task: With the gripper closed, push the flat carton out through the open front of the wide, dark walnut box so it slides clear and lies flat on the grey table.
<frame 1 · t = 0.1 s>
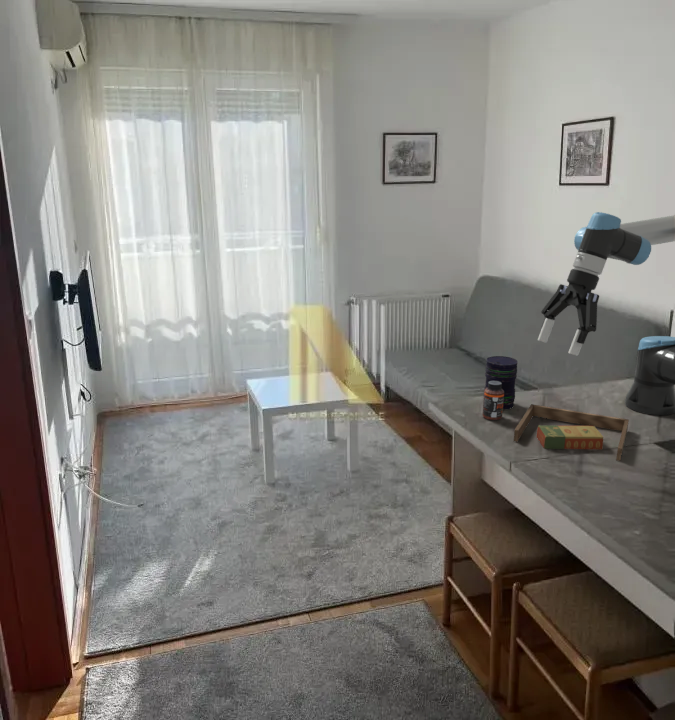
hand: (556, 347, 181), 28 cm above the table, tool tilted 20°, fingers open, 13 cm apart
storage jar: (498, 405, 218), on the table
supplement bottle: (492, 417, 208), on the table
carton: (568, 444, 189), on the table
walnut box: (571, 435, 194), on the table
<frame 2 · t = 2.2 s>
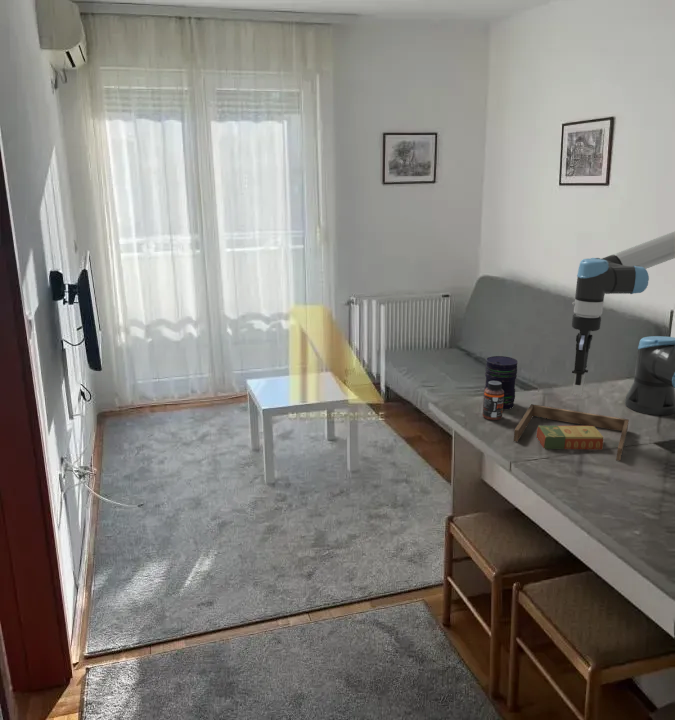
hand: (577, 394, 195), 11 cm above the table, tool pointing down, fingers closed
nothing on the table moved.
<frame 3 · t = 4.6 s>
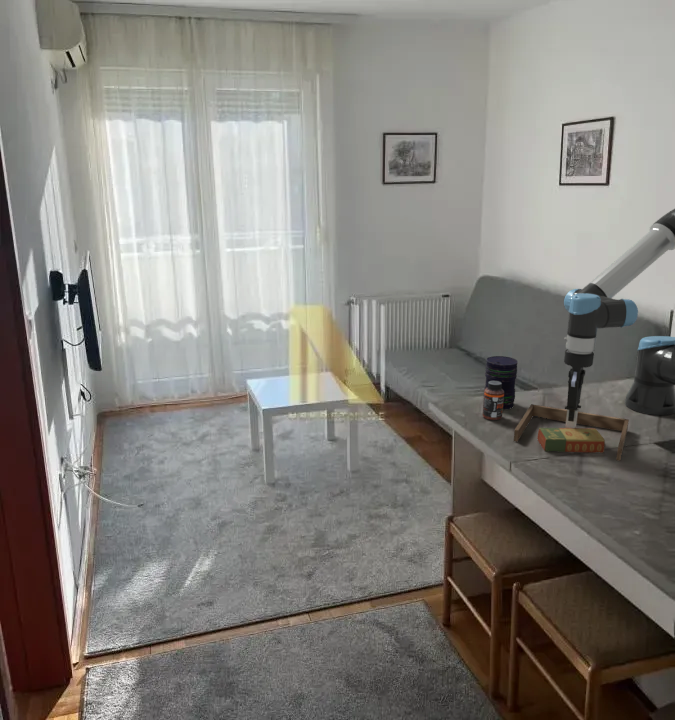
hand: (570, 430, 192), 2 cm above the table, tool pointing down, fingers closed
carton: (569, 447, 187), on the table, touching gripper
everything else where it was.
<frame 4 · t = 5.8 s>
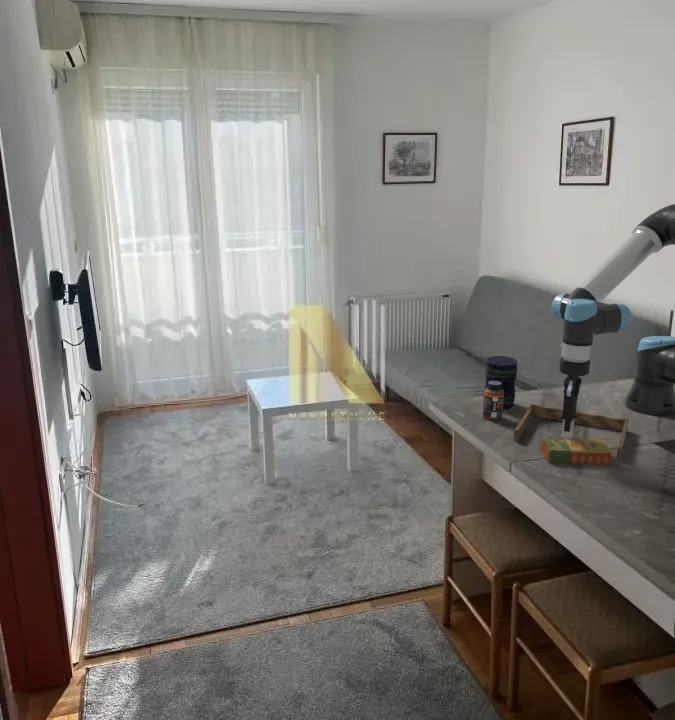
hand: (566, 440, 185), 2 cm above the table, tool pointing down, fingers closed
carton: (574, 459, 180), on the table
everything else where it was.
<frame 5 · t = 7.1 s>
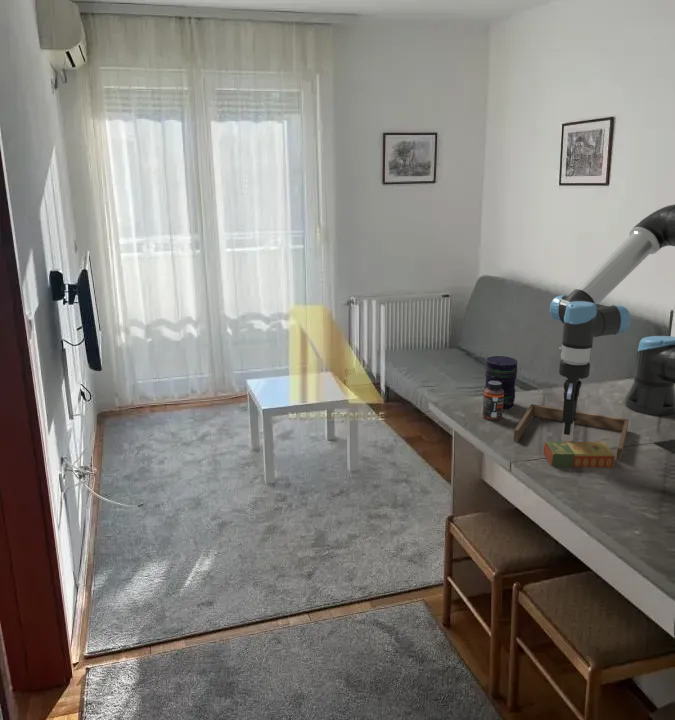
hand: (566, 443, 183), 2 cm above the table, tool pointing down, fingers closed
carton: (577, 462, 179), on the table
everything else where it was.
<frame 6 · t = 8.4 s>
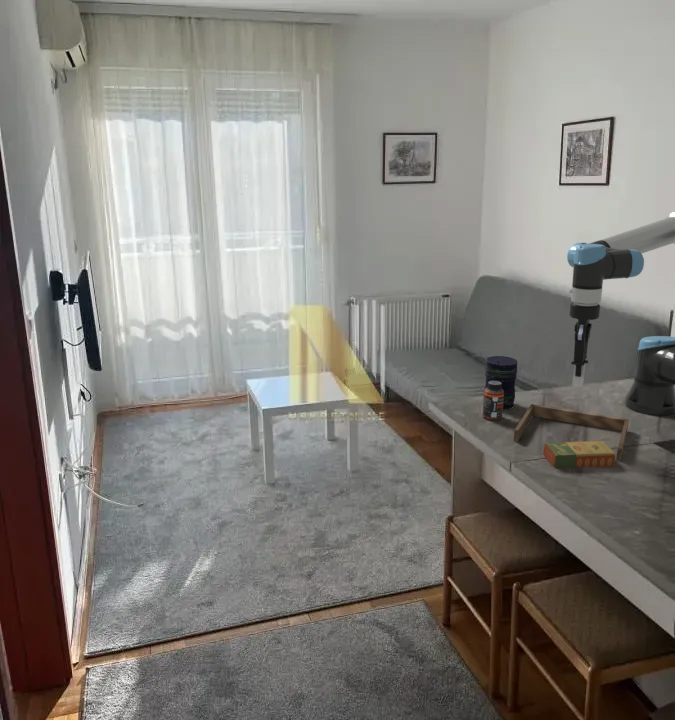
hand: (577, 386, 187), 16 cm above the table, tool pointing down, fingers closed
nothing on the table moved.
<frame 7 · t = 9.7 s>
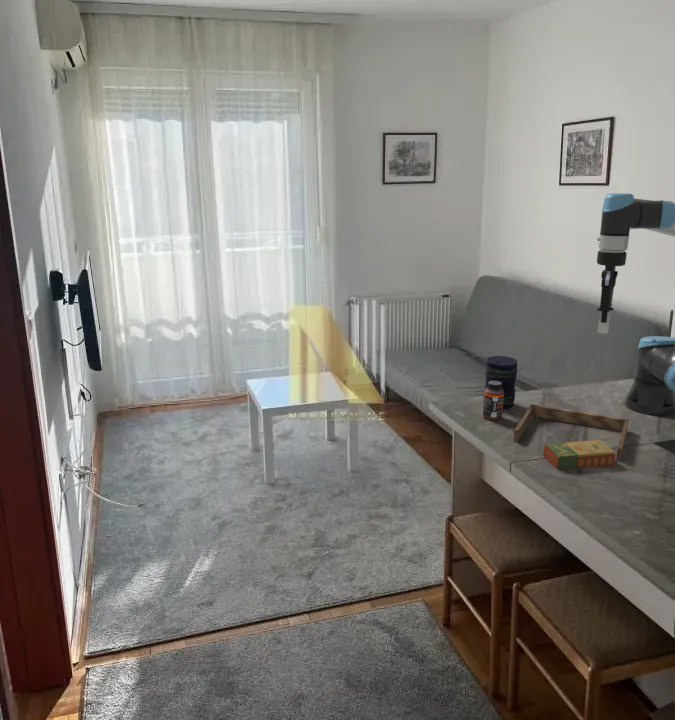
hand: (602, 332, 194), 28 cm above the table, tool pointing down, fingers closed
nothing on the table moved.
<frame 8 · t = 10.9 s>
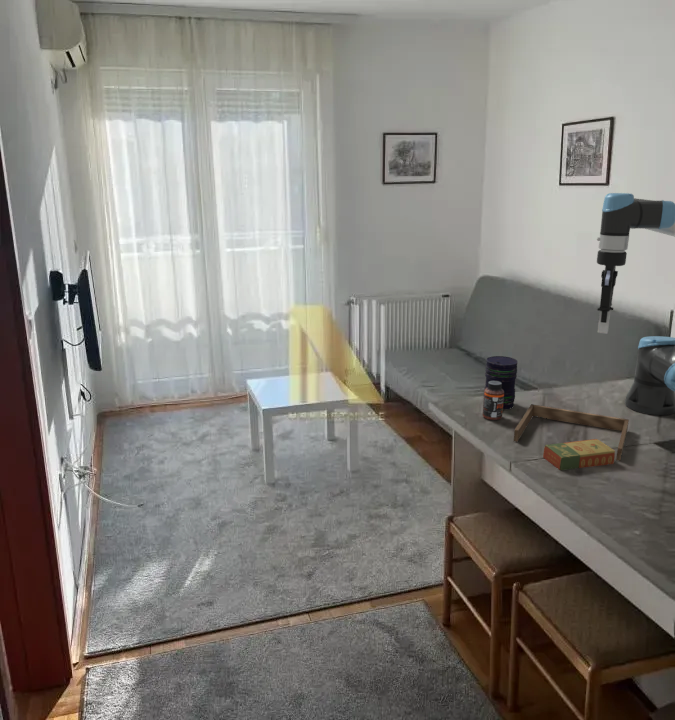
hand: (602, 332, 194), 28 cm above the table, tool pointing down, fingers closed
at the end: carton inside the target area on the table beside the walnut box (7.9 cm from its centre), on the table; carton tilted 0°; carton touching table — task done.
